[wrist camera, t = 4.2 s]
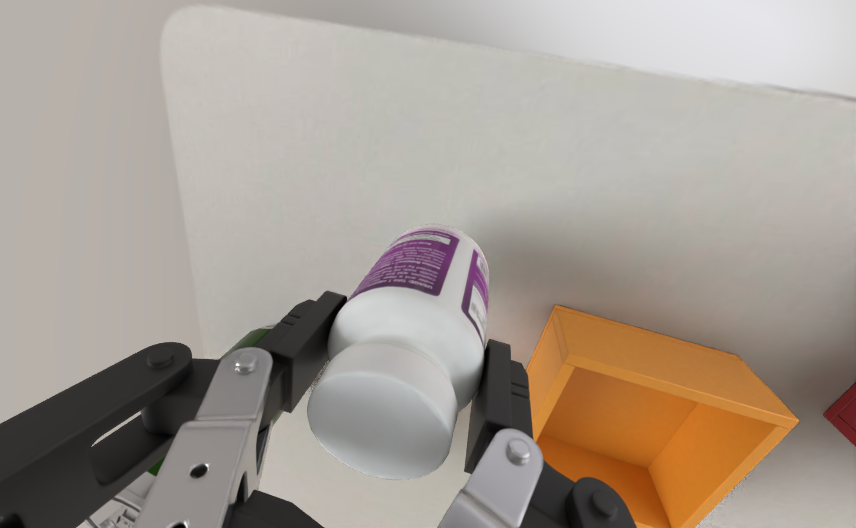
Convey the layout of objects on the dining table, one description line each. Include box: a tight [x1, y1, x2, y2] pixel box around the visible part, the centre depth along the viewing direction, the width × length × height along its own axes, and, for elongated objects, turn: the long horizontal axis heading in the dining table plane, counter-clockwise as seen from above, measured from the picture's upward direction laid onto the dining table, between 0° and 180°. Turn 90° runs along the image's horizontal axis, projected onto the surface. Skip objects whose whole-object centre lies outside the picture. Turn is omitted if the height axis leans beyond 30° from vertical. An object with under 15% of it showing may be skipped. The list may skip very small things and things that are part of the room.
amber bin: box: [526, 305, 799, 528], centre depth 20 cm, size 10×10×4 cm
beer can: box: [84, 326, 283, 528], centre depth 21 cm, size 5×5×12 cm
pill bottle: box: [307, 224, 489, 480], centre depth 13 cm, size 5×5×10 cm
